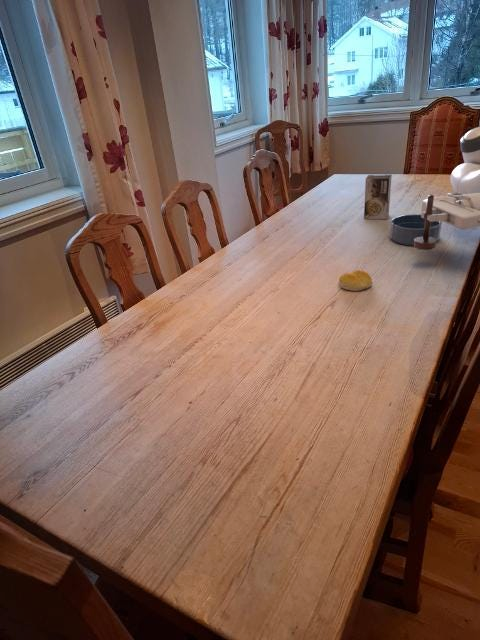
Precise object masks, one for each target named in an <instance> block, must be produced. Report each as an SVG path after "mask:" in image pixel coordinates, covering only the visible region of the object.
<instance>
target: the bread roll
mask: <svg viewBox="0 0 480 640" xmlns="http://www.w3.org/2000/svg"><path fill="white" fill-rule="evenodd" d="M338 284H339V286H340V288H342V289H343V290H346V291H353V292H358V291H363V290H367V289H368V288H370V287H371V286H372V285H373V280H372V277H371V275H370V274H369V273H368V272H367V271H366V270H363V269H356V270H353V271H352V272H345V273H343V274H341V275H340V276H339V278H338Z"/></svg>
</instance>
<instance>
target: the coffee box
mask: <svg viewBox="0 0 480 640" xmlns="http://www.w3.org/2000/svg"><path fill="white" fill-rule="evenodd" d="M392 175H393V174H386V173H385V174H368V175H367V176H366V177H365V185H364V187H365V189H364V206H363V207H364V209H363V219H364V220H388V217H389V215H390V201H391V191H392V189H391V188H392V177H393V176H392Z"/></svg>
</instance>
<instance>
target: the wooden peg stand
mask: <svg viewBox="0 0 480 640" xmlns="http://www.w3.org/2000/svg"><path fill="white" fill-rule="evenodd" d="M434 198H435V196H434V195H433V194H431V193H430V194H429V195H428V196H427V198H426V199H427V207H426V216H425V224H424V232H423V237H417V238H415V240H414V246H413V247H414V248H416V249H418V250H421V251H430V250H434V249H436V246H437V241H436V239H435V238H432V237H429V231H430V224H431V222H430V221H428V220H427V216H428V215H429V214H432V208H433V201H434Z"/></svg>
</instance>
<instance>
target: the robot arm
mask: <svg viewBox="0 0 480 640" xmlns="http://www.w3.org/2000/svg"><path fill="white" fill-rule="evenodd" d="M459 145H460V146H459V148H460V152H461V153H462V159H463V163H460V164H459V165H457V166H456V167H455V168H454V169H453V170H452V171H451V174H450V181H449V182H450V185H451V187H452V189H453V191H454V192H450V193H447V195H440V196H434V201H433V208H432V214H429V215H428V216H427V220H428V221H430V222H433V221H439V222H442V223H446V224H448V225H450V226H452V227H454V228H457V229H459V230H469V229H474V228H478V227H480V126H477V127H473V128H471V129H469V130H468V131H467V132H466V133H464V134H463V135H462V137H461V138H460V142H459ZM427 199H428V198H426V199H424V200H423V201H422V203H421V214H420V215H421V218H424V219H425V216H426V207H427Z"/></svg>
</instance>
